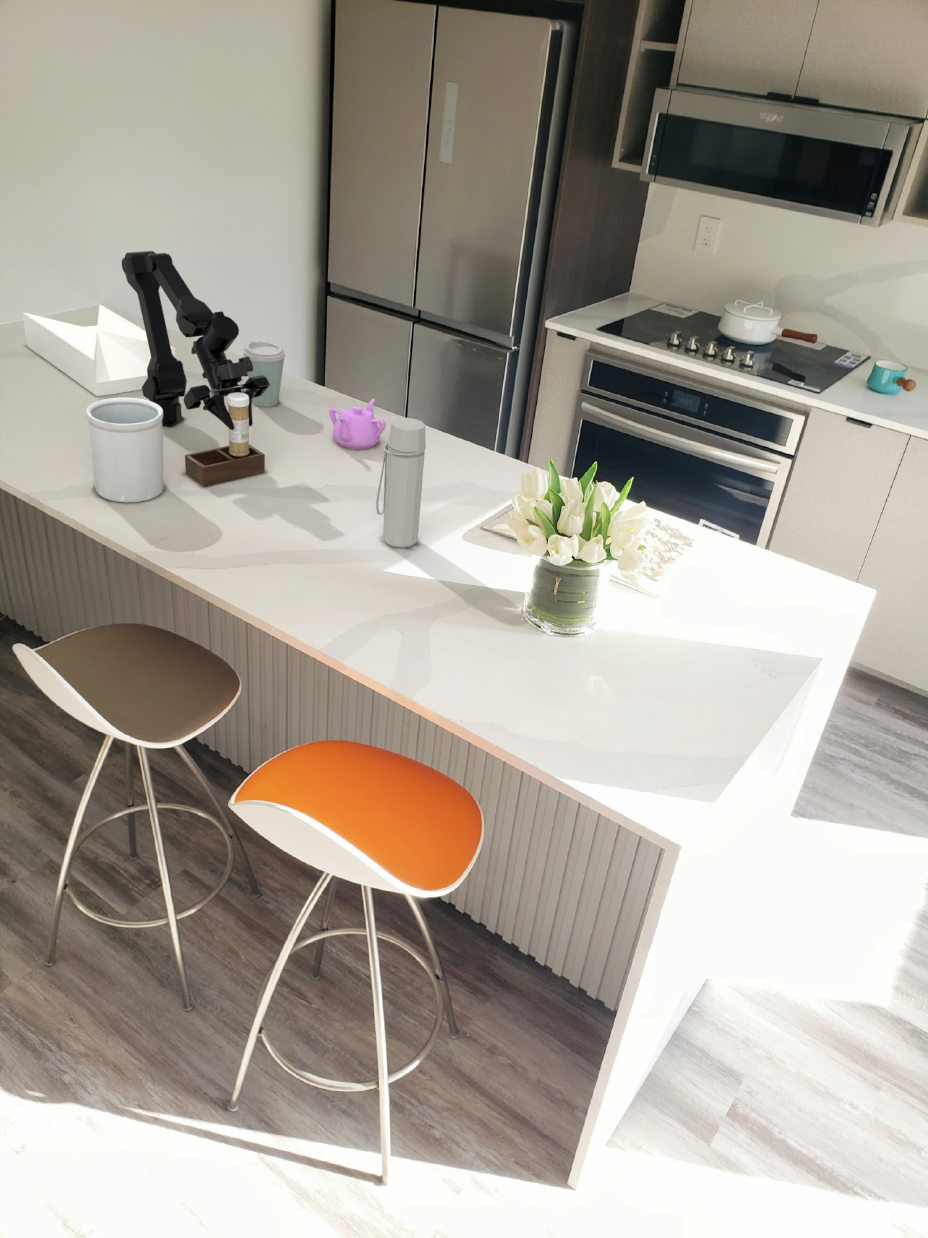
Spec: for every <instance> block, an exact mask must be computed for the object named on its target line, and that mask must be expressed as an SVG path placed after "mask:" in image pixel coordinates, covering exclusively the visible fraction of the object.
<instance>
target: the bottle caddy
mask: <svg viewBox="0 0 928 1238" xmlns="http://www.w3.org/2000/svg"><path fill="white" fill-rule="evenodd" d="M184 465H185V475H186V476H188V477H189V478H190V479H192V480H194V481H195V482H196V483H198V484H199V485H201V487H204V488H207V487H211V486H214V485H218V484H223V483H224V484H225V483H227V482H231V481H236V480H241V479H244V478H245V479H246V478H249V477H254V476H257V475H262V474H264V473H266V454H265V453H263V452H262V451H260V450H259V449H257V448H255V447H254V446H252V445H251V444H249V454H248V455H246V456H241V457H238V456H233V455H231V454H230V453H229V445H225V446H221V447H215V448H211V449H206V450H202V451H198V452H191V453H187V454H184Z"/></svg>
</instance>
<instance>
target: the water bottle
mask: <svg viewBox="0 0 928 1238" xmlns="http://www.w3.org/2000/svg"><path fill="white" fill-rule="evenodd" d="M387 441H388V442H385V443H384V444H383V447H382V448H383V451H384V455H383V462H382V466H381V471H380V472H381V473H380V478H379V484H378V490H377V494H376V501H375V510H376V514H377V515H379V516H382V515H383V525H382V526H383V528H382V539H383V541H384V542H385V543H386V544H387V545H389V546H390V547H394V548H401V549H404V548H410V547H412V546H414V545H416V544H417V542H418V537H419V526H420V513H421V504H422V503H421V502H422V501H421V500H422V489H423V479H424V466H425V453H426V452H425V451H426V447H427V446H426V424H425V423H424V421H422V420H419V419H416V418H412V417H411V418H410V417H398V418H395V419H393V420H392V421H391V423H390V428H389V434H388V440H387ZM383 476H384V481H383ZM382 481H383V486H384V487H383V509H382V512H380V510H379V509H380V508H379V500H380V499H379V498H380V493H381V488H382Z"/></svg>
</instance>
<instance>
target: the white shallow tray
mask: <svg viewBox="0 0 928 1238" xmlns="http://www.w3.org/2000/svg"><path fill="white" fill-rule="evenodd" d="M22 321H23V328H24V335H25V343H26V347H28V348H29V349H30V350H31V351H33V352H35V353H36V354H38V356H40V357H42V358H43V359H44V360H46V361H47V362H48V363H50V364H51V365H52V366H54V367H55V368H57V369H58V370H59V371H61V372H62V373H64V374H65V375H66V376H68V377H69V378H71V379H72V380H73V381H75V382H76V383H78V384H79V385H80V386H82V387H83V388H85V389H86V390H88V391H89V392H90V393H91V394H93V395H95V396H96V397H103V396H109V395H115V394H121V393H128V392H134V391H140V390H141V391H142V386H143V384H144V383H145V381H146V380H147V378H148V375H147V367H148V365H149V362H150V359H151V354H150V349H149V345H148V340H147V336H146V331H145V329H143V328H142V327H140V326H138V325H136V324H134V323H133V322H130V321H129V320H127V319H126V318H125V317H123V316H121V315H119V314H117V313H116V312H114V311H113V310H110V309H109V308H108V307H106V306H104V305H102V304H99V308H98V317H97V324H96V325H89V326H82V325H77V324H72V323H69V322H65V321H60V320H58V319H57V320H56V319H52V318H48V317H44V316H40V315H36V314H32V313H27V312H22ZM170 347H171V352H172V355H173V356H174V357H175V358H176V359H177V350H176V348H175V347H174V346H172V345H170Z"/></svg>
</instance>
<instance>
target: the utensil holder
mask: <svg viewBox="0 0 928 1238" xmlns="http://www.w3.org/2000/svg"><path fill="white" fill-rule="evenodd" d="M85 416H86V419H87V421H88V433H89V442H90V452H91V462H92V463H91V464H92V472H93V479H94V487H95V491H96V493H97V494H98V495H99V496H100V497H101V498H103V499H106V500H108V501H112V502H117V503H118V502H119V503H139V502H146V501H149V500H153V499H155V498H156V497H158V496H160V495H161V494H162V492H163V491H164V482H165V481H164V474H165V473H164V472H165V471H164V441H163V440H164V439H163V437H164V436H163V425H162V419H163V409H162V408H161V407H160V406H159V405H158V404H156V403H154V402H151V401H149V399H143V398H139V397H138V398H137V397H111V398H110V397H109V398H104V399H100V400H97V401H94V402H92V403H90V404H89V405H88V406H87V407H86V409H85Z"/></svg>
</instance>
